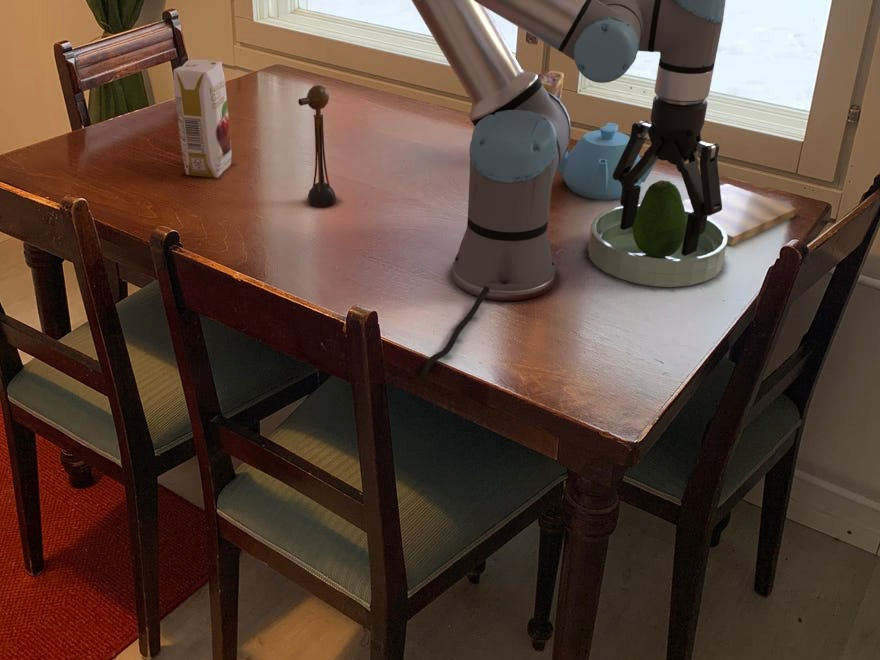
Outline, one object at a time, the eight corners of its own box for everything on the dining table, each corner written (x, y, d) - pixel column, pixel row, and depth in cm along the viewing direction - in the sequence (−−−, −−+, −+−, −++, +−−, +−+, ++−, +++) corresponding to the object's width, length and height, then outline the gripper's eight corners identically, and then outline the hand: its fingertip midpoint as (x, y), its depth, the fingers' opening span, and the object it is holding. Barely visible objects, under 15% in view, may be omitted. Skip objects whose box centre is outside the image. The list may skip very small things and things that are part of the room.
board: (731, 245, 160) (733, 237, 159) (660, 217, 169) (662, 209, 168) (794, 216, 169) (796, 208, 169) (724, 191, 178) (726, 183, 177)
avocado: (639, 240, 161) (650, 168, 154) (687, 252, 157) (700, 179, 150) (621, 259, 155) (632, 186, 148) (670, 272, 152) (684, 197, 145)
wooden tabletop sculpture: (313, 211, 170) (307, 93, 158) (297, 202, 173) (291, 85, 161) (341, 202, 173) (337, 86, 161) (325, 194, 176) (321, 79, 164)
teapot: (663, 194, 177) (673, 134, 171) (596, 211, 171) (604, 149, 165) (607, 166, 188) (614, 108, 182) (542, 180, 182) (547, 122, 175)
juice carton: (180, 176, 182) (167, 70, 171) (199, 159, 189) (187, 56, 178) (219, 180, 181) (208, 73, 170) (236, 163, 188) (227, 59, 177)
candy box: (543, 167, 187) (551, 85, 178) (521, 164, 188) (527, 82, 179) (556, 152, 194) (564, 71, 185) (535, 148, 195) (542, 68, 186)
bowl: (665, 302, 144) (670, 274, 142) (561, 253, 157) (563, 226, 155) (748, 262, 155) (754, 235, 153) (644, 219, 168) (648, 194, 165)
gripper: (768, 112, 136) (736, 259, 149) (633, 73, 151) (614, 209, 164) (735, 124, 132) (706, 273, 145) (599, 82, 147) (583, 221, 160)
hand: (657, 239), depth 154 cm, fingers open, 11 cm apart
